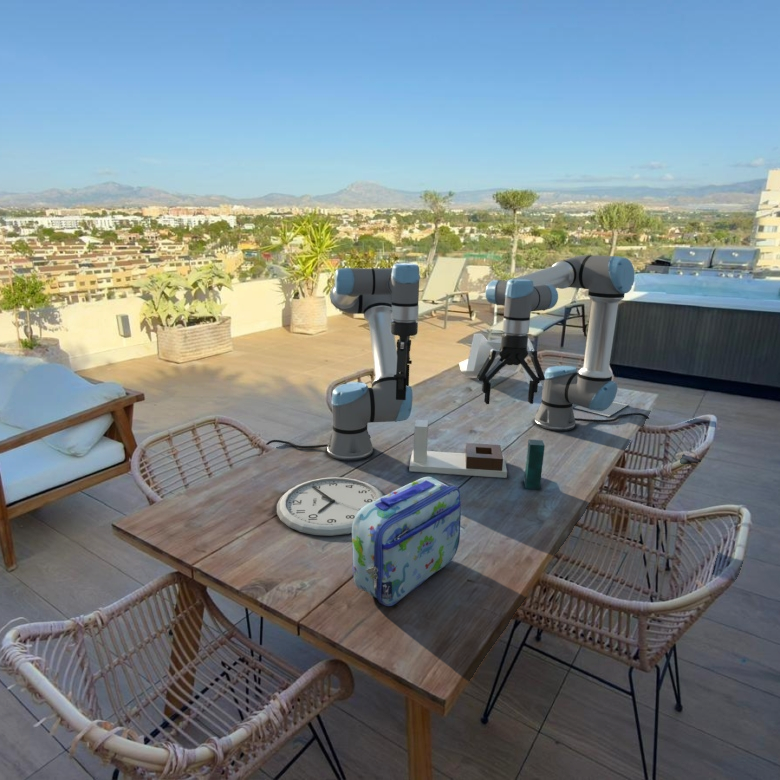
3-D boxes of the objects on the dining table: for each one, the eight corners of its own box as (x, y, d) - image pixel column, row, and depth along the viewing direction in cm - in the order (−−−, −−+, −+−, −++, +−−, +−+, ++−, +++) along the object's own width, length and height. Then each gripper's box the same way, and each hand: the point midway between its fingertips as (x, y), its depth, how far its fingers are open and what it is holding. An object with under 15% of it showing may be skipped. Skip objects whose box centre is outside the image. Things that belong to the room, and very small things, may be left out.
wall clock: (392, 527, 129) (268, 531, 127) (391, 533, 130) (269, 537, 127) (383, 473, 158) (282, 475, 155) (383, 478, 158) (282, 480, 156)
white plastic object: (480, 418, 266) (459, 395, 242) (461, 346, 288) (441, 318, 264) (550, 394, 254) (536, 368, 229) (526, 321, 276) (510, 289, 251)
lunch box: (381, 619, 101) (382, 525, 95) (345, 592, 109) (344, 503, 102) (464, 563, 119) (469, 480, 113) (428, 543, 126) (432, 464, 120)
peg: (537, 483, 157) (542, 440, 153) (539, 489, 154) (544, 445, 149) (524, 482, 158) (528, 439, 154) (525, 488, 154) (530, 444, 150)
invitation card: (608, 416, 214) (573, 407, 224) (608, 416, 214) (573, 408, 224) (628, 404, 229) (594, 396, 238) (628, 405, 229) (594, 397, 238)
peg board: (503, 461, 172) (506, 421, 167) (506, 478, 160) (510, 435, 156) (412, 455, 175) (413, 416, 171) (409, 471, 164) (410, 429, 159)
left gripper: (395, 312, 159) (393, 379, 165) (386, 328, 135) (385, 405, 142) (419, 313, 158) (417, 380, 165) (415, 329, 135) (412, 406, 141)
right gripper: (551, 331, 157) (543, 398, 163) (470, 330, 154) (465, 399, 161) (561, 336, 150) (553, 406, 156) (476, 335, 147) (471, 407, 154)
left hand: (402, 392), depth 153 cm, fingers open, 13 cm apart
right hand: (508, 402), depth 158 cm, fingers open, 13 cm apart
